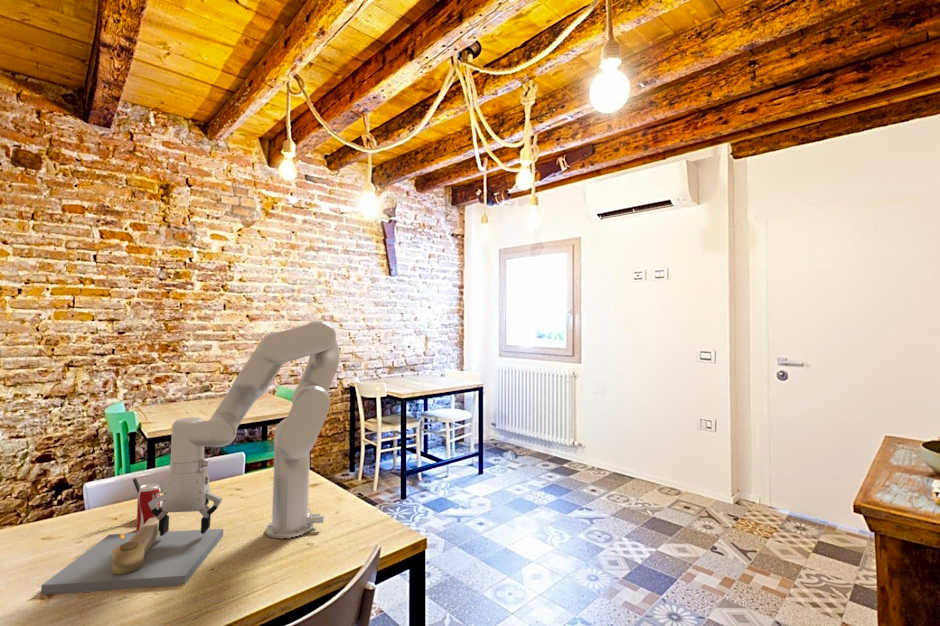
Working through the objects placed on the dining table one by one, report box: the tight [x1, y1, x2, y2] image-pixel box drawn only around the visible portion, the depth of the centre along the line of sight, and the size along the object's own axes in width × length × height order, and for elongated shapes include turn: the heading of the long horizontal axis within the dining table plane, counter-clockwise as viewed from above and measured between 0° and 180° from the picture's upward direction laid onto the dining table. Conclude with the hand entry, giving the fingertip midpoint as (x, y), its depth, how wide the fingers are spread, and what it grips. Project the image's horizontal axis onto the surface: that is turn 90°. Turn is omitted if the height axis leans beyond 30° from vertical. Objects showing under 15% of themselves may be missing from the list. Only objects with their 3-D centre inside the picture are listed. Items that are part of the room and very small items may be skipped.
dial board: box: [40, 528, 224, 596], centre depth 112 cm, size 28×24×2 cm
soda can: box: [136, 483, 161, 533], centre depth 130 cm, size 5×5×12 cm
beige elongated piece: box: [111, 518, 160, 574], centre depth 113 cm, size 6×21×5 cm, turn 17°
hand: (184, 532), depth 120 cm, fingers open, 9 cm apart
